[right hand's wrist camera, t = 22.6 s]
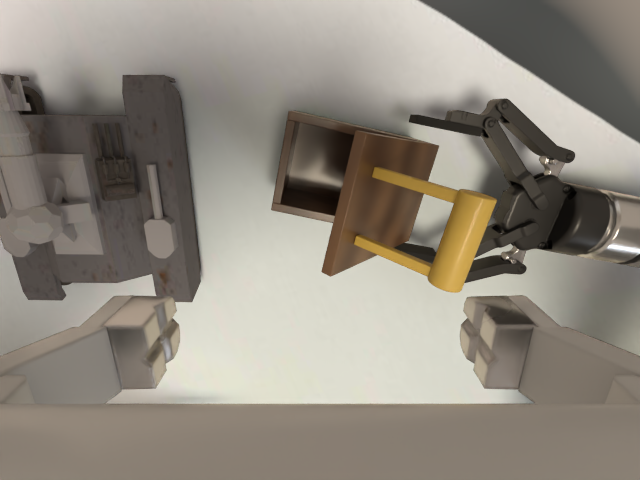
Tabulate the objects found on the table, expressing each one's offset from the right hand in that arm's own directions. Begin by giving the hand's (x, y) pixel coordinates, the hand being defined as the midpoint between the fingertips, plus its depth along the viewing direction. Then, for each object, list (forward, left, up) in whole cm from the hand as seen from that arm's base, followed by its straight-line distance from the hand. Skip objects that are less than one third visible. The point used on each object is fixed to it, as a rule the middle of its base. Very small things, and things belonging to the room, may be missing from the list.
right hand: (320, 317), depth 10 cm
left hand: (+7, -3, -28) cm, 29 cm away
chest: (+3, -1, -35) cm, 35 cm away
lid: (+5, -2, -20) cm, 20 cm away
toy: (-26, 0, -35) cm, 43 cm away
